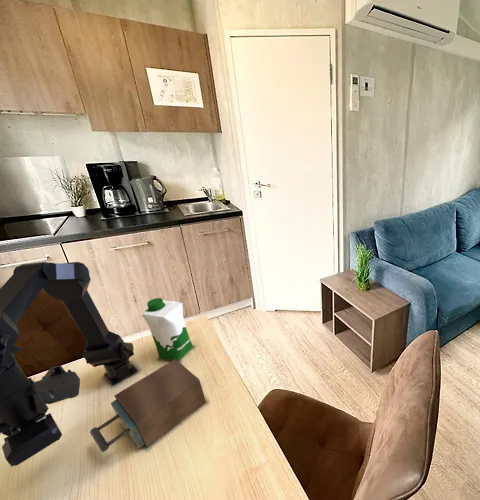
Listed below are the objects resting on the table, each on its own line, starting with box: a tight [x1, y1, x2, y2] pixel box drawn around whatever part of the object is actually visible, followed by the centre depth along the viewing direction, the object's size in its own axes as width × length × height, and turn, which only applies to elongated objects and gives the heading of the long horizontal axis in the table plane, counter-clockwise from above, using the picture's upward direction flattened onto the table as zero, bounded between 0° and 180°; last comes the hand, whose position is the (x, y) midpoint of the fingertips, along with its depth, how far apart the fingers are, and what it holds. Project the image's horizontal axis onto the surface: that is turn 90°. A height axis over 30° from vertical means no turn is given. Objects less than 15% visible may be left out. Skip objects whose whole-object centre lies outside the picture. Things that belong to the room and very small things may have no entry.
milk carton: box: [141, 297, 194, 362], centre depth 90 cm, size 9×9×20 cm
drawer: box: [89, 399, 145, 453], centre depth 70 cm, size 19×11×7 cm, turn 145°
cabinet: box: [113, 359, 207, 448], centre depth 74 cm, size 15×13×9 cm
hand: (43, 446), depth 55 cm, fingers closed
